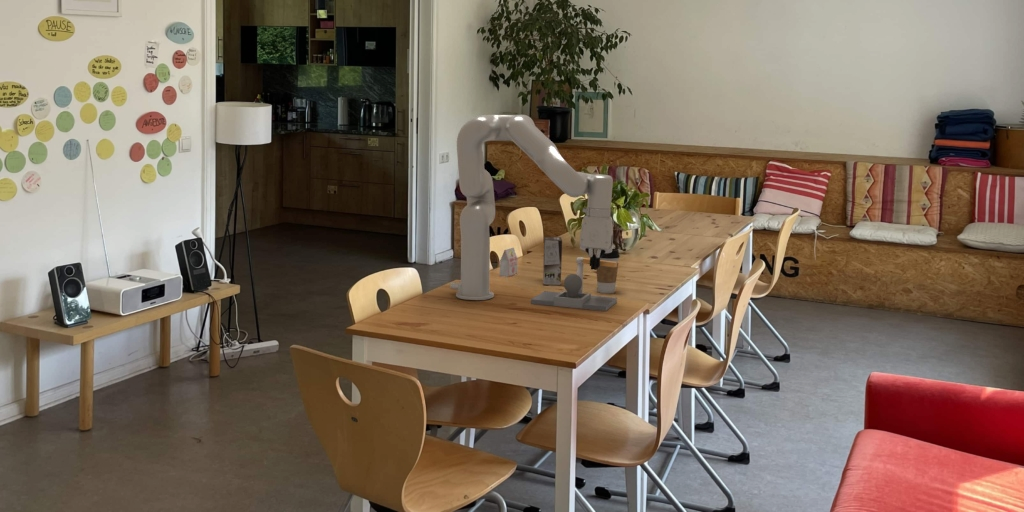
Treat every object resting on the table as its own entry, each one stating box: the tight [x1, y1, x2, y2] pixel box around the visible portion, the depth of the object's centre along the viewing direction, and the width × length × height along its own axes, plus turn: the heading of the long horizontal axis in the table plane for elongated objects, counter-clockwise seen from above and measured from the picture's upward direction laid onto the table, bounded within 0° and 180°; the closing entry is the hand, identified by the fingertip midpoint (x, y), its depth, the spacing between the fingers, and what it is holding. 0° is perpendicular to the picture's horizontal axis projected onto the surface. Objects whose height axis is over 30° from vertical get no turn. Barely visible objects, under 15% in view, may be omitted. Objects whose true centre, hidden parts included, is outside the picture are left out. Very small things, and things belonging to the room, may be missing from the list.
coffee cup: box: [595, 248, 620, 294], centre depth 328 cm, size 8×8×15 cm
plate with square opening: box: [530, 262, 618, 312], centre depth 309 cm, size 25×14×12 cm, turn 70°
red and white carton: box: [499, 247, 519, 278], centre depth 354 cm, size 4×7×10 cm, turn 150°
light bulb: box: [563, 273, 582, 298], centre depth 307 cm, size 6×6×10 cm
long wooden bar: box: [576, 256, 617, 267], centre depth 310 cm, size 3×14×2 cm, turn 57°
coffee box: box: [542, 236, 563, 286], centre depth 341 cm, size 9×6×16 cm
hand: (594, 268), depth 308 cm, fingers closed
